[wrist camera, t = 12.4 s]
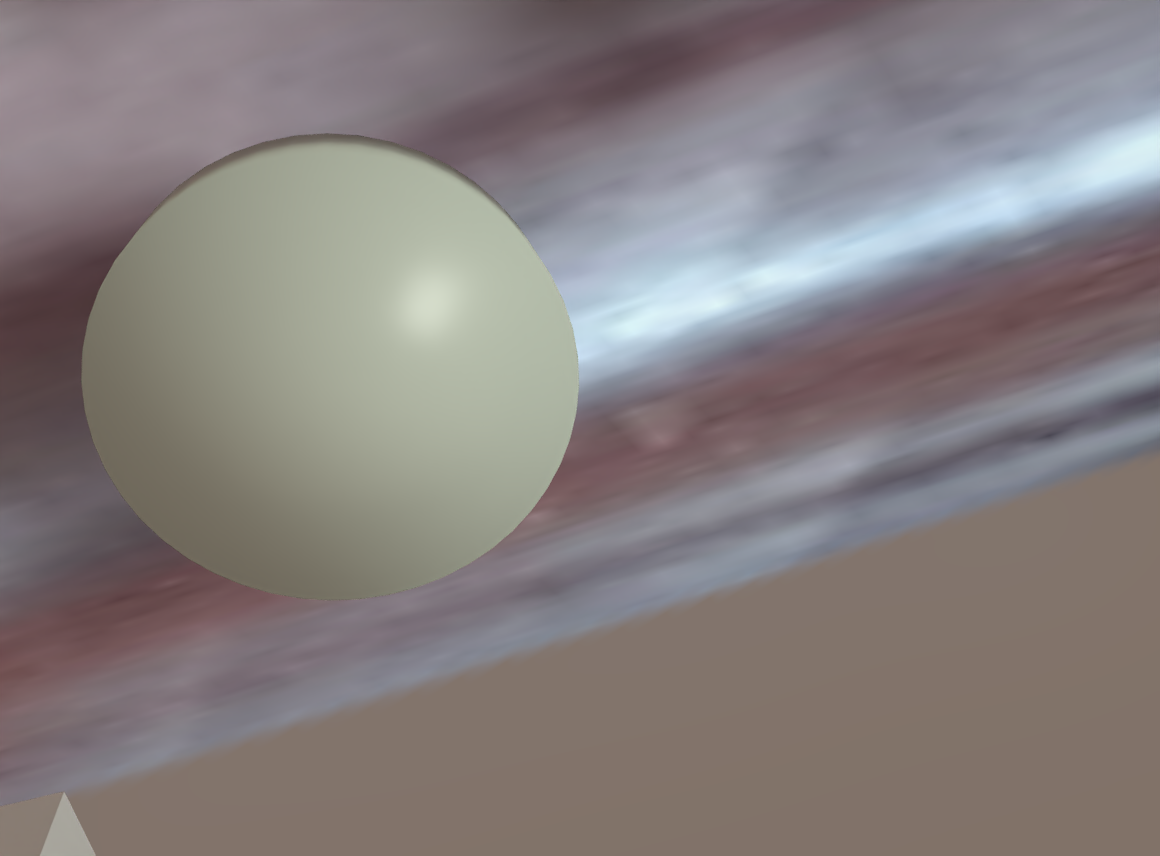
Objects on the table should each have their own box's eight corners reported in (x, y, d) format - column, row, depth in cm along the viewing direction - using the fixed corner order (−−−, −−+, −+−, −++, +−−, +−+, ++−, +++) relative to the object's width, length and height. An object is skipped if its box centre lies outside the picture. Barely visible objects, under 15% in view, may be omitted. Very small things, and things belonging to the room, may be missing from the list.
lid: (637, 272, 26) (664, 301, 23) (434, 601, 29) (442, 655, 26) (223, 37, 21) (209, 45, 19) (34, 451, 24) (3, 500, 22)
